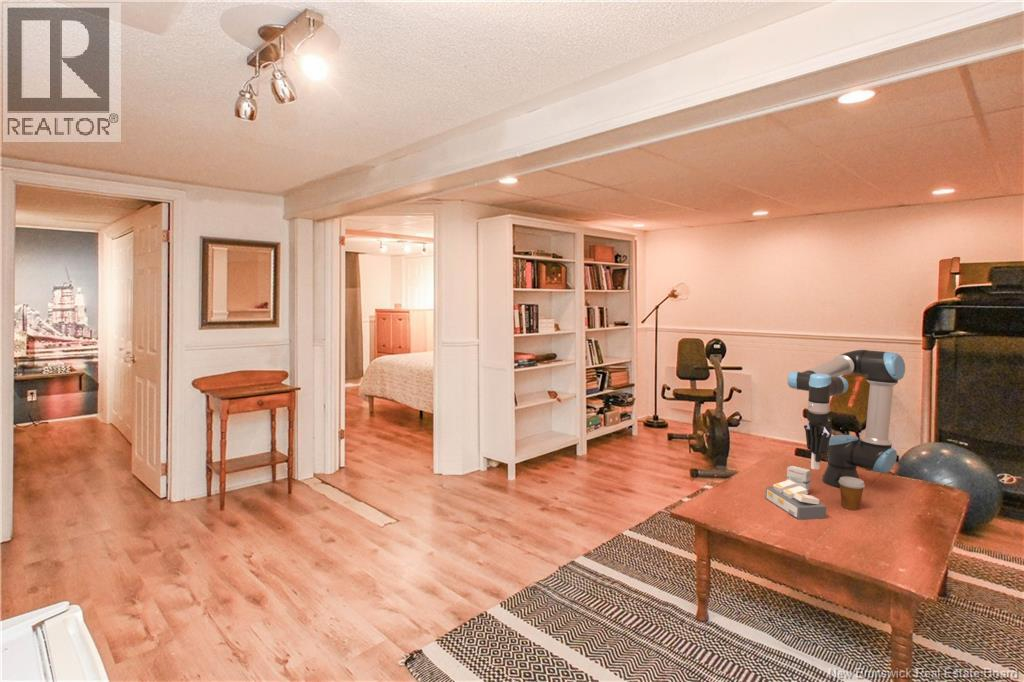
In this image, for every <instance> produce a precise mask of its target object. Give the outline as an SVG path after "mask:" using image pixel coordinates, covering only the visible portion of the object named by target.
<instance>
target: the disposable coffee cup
mask: <svg viewBox="0 0 1024 682" xmlns="http://www.w3.org/2000/svg"><path fill="white" fill-rule="evenodd" d="M839 484H840V488H839V493H840V502H841V503H840V505H841V507H842V508H843V509H845V510H848V511H849V510H851V511H859V510H860V506H861V501H862V497H863V491H864V488H865V486H866V484H865V482H864V480H863V479H862V478H859V479H858V478H854V477H847V476H846V477H840V479H839Z"/></svg>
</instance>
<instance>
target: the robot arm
mask: <svg viewBox="0 0 1024 682" xmlns="http://www.w3.org/2000/svg"><path fill="white" fill-rule="evenodd" d="M905 374H906V363H905V360H904V359H903V356H901V355H900V354H899V353H896V352H891V351H881V350H879V351H878V350H870V349H868V350H867V349H857V350H851V351H847V352H844V353H841V354H838V355H836V356H835V357H834V358H833V359H832V360H830V361H827V362H825V363H822V364H820V365H818V366H815V367H812V368H810V369H808V370H804V371H802V372H801V371H791V372H789V374H788V376H787V385H788V386H789V388H790V389H795V390H801V391H804V392H805V391H806V392H808V403H807V421H808V424H805V425H804V426H803V428H804V431H805V439H806V449H807V450H809V452H810V469H812V470H820V464H821V463H820V462H821V459H822V457H821V456H822V455H824V454H826V452H827V447H828V453H827V454H828V455H827V457H828V458H827V467H826V468H825V471H824V473H823V475H822V482H823V483H824V484H827V485H829V486H832V487H836V488H839V489H840V484H839V479H840V477H846V476H847V477H854V478H858V479H860V477H859V474H858V471H857V468H858V467H859V468H862V469H866V470H870V471H873V472H877V473H882V474H887V473H888V472H890V471H891V470H892V469H893V467H894V466H895V464H896V461H897V458H898V457H897V456H898V453H897V450H896V449H895V448H892V446H893V445H892V444H893V443H892V442H891V441H890V440H889V435H890V424H891V423H890V421H891V412H892V402H893V401H892V400H893V392H894V386H896V385H897V384H898V383H899V381H900V380H902V379H903V378H904V376H905ZM848 375H860V376H865V377H866V382H867V383H868V384H869V390H868V403H867V414H866V424H865V435H864V436H863V437H861V438H860V439H859V437H858V436H857V435H850V434H835V435H832V433H831V431H830V432H829V431H828V429H827V424H828V423H829V420H830V418H829V417H830V414H829V413H830V407H831V406H830V404H831V403H830V399H831V396H833V397H834V396H840V395H842V394H844V393H846V392H847V391H848V390H849V382H848V380H847V379H846V378H845V377H843V376H848Z"/></svg>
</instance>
